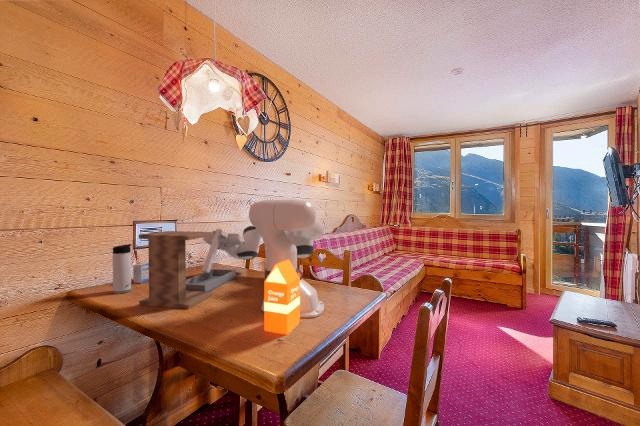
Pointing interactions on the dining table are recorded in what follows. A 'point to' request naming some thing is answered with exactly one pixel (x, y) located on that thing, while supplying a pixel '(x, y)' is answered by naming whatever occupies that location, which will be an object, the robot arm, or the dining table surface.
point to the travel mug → (121, 269)
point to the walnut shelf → (170, 270)
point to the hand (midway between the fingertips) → (216, 232)
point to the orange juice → (282, 299)
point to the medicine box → (141, 272)
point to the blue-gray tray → (210, 280)
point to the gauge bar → (212, 252)
